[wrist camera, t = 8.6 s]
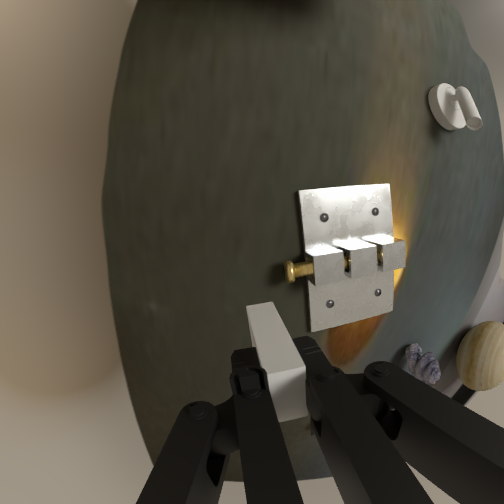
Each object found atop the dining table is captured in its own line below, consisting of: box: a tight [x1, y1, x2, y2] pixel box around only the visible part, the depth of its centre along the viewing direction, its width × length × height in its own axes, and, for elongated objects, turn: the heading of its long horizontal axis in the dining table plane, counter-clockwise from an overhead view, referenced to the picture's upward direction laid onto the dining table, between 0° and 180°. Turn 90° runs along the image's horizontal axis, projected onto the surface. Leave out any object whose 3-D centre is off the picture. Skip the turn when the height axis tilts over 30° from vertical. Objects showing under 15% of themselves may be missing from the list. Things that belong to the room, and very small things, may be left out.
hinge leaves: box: [297, 184, 405, 332], centre depth 35 cm, size 20×14×4 cm
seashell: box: [405, 343, 441, 384], centre depth 37 cm, size 5×5×10 cm
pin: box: [283, 249, 381, 283], centre depth 35 cm, size 3×16×3 cm, turn 98°
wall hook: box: [428, 83, 482, 130], centre depth 31 cm, size 9×10×10 cm
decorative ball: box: [456, 321, 504, 391], centre depth 38 cm, size 15×15×15 cm
